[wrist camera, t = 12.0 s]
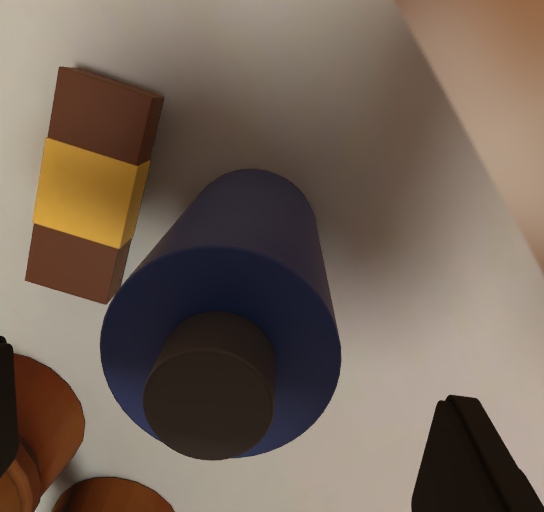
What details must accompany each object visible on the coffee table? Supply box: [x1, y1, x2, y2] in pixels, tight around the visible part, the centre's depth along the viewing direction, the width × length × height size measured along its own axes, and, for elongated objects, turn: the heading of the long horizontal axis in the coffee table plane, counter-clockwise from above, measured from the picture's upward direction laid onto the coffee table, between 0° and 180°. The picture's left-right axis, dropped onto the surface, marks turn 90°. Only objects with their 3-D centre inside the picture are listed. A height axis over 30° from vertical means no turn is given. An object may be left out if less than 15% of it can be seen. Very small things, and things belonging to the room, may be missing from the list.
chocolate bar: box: [25, 67, 164, 304], centre depth 23 cm, size 10×4×2 cm, turn 162°
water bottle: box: [100, 169, 341, 460], centre depth 18 cm, size 6×6×14 cm
